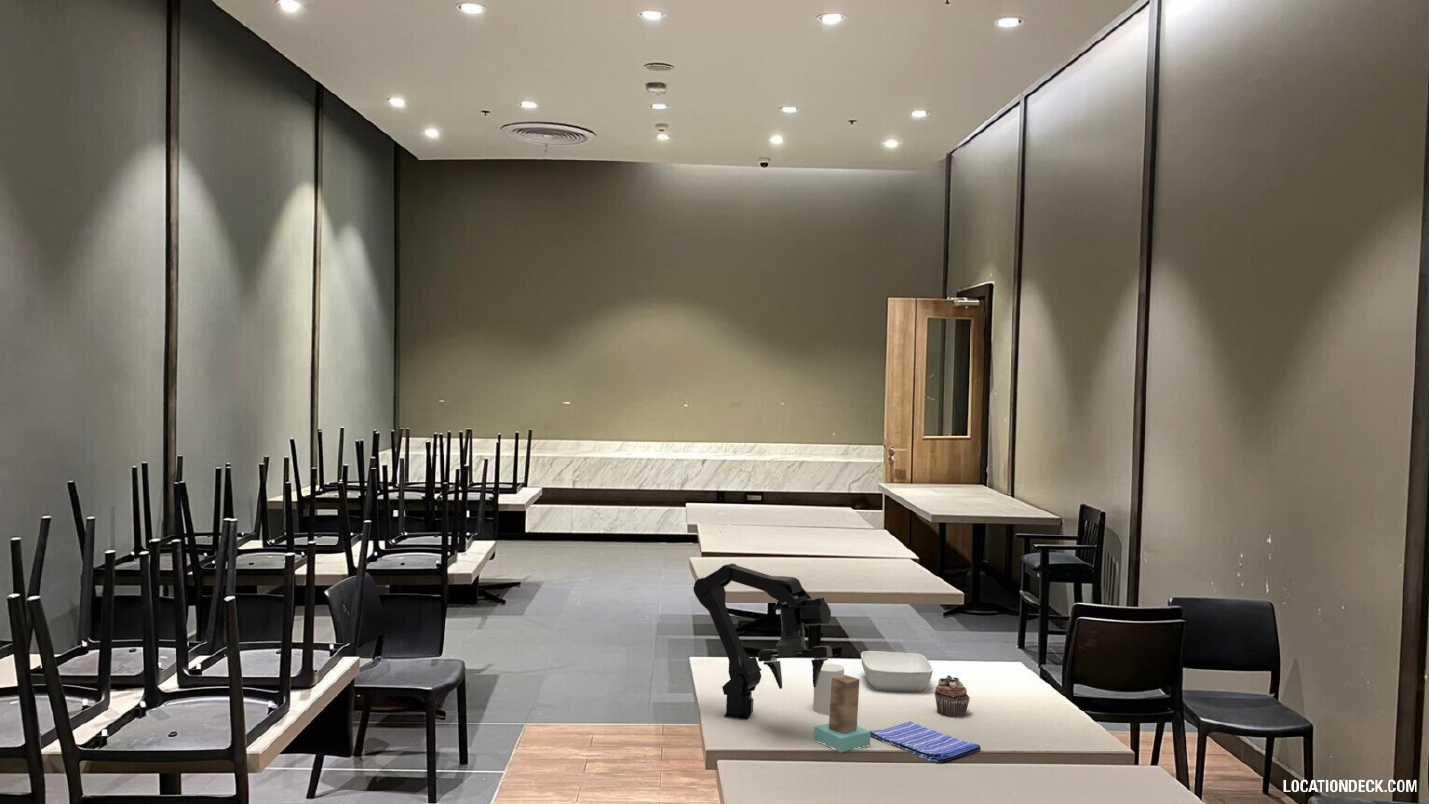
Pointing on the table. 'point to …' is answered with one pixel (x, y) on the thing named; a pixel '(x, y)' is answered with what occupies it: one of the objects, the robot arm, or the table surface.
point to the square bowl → (896, 670)
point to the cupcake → (951, 697)
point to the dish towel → (925, 742)
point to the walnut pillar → (844, 704)
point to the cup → (825, 687)
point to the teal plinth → (842, 738)
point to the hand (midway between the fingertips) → (797, 687)
